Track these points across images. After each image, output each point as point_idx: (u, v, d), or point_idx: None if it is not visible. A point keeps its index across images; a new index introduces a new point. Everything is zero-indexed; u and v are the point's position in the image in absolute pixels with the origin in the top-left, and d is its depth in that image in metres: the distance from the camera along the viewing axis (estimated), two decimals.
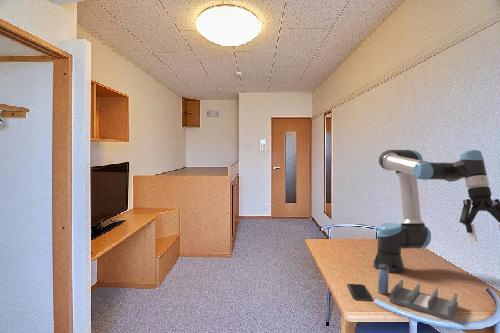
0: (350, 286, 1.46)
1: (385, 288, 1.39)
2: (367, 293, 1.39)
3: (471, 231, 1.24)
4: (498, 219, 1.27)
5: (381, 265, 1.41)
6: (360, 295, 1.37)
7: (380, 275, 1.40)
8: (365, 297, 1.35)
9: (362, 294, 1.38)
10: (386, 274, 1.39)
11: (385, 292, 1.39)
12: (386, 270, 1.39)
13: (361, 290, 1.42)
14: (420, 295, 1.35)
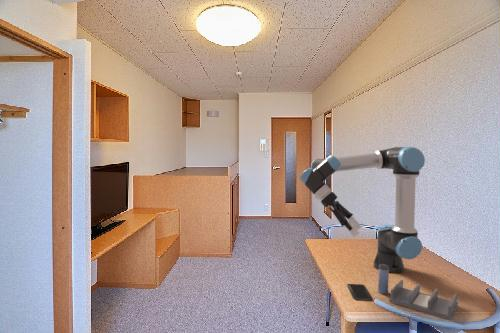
0: (350, 286, 1.46)
1: (385, 288, 1.39)
2: (367, 293, 1.39)
3: None
4: None
5: (381, 265, 1.41)
6: (360, 295, 1.37)
7: (380, 275, 1.40)
8: (365, 297, 1.35)
9: (362, 294, 1.38)
10: (386, 274, 1.39)
11: (385, 292, 1.39)
12: (386, 270, 1.39)
13: (361, 290, 1.42)
14: (420, 295, 1.35)
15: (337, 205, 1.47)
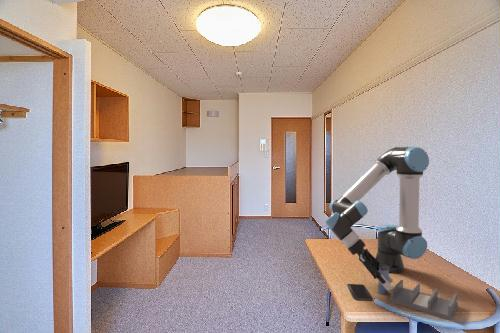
0: (350, 286, 1.46)
1: None
2: (367, 293, 1.39)
3: None
4: None
5: (381, 265, 1.41)
6: (360, 295, 1.37)
7: None
8: (365, 297, 1.35)
9: (362, 294, 1.38)
10: (386, 274, 1.39)
11: (385, 292, 1.39)
12: (386, 270, 1.39)
13: (361, 290, 1.42)
14: (420, 295, 1.35)
15: (366, 254, 1.41)
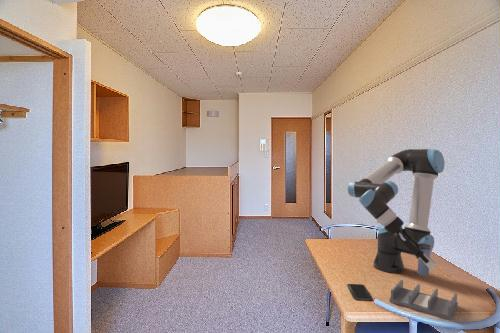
0: (350, 286, 1.46)
1: (426, 268, 1.28)
2: (367, 293, 1.39)
3: None
4: None
5: (421, 244, 1.30)
6: (360, 295, 1.37)
7: None
8: (365, 297, 1.35)
9: (362, 294, 1.38)
10: (427, 254, 1.28)
11: (426, 273, 1.29)
12: (428, 249, 1.28)
13: (361, 290, 1.42)
14: (420, 295, 1.35)
15: (405, 233, 1.31)
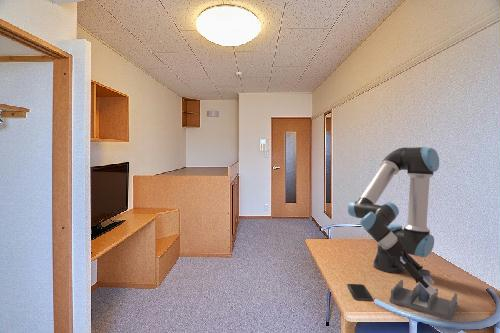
0: (350, 286, 1.46)
1: (426, 295, 1.29)
2: (367, 293, 1.39)
3: None
4: None
5: (421, 270, 1.31)
6: (360, 295, 1.37)
7: None
8: (365, 297, 1.35)
9: (362, 294, 1.38)
10: (427, 280, 1.29)
11: (427, 299, 1.29)
12: (427, 275, 1.29)
13: (361, 290, 1.42)
14: None
15: (406, 256, 1.31)
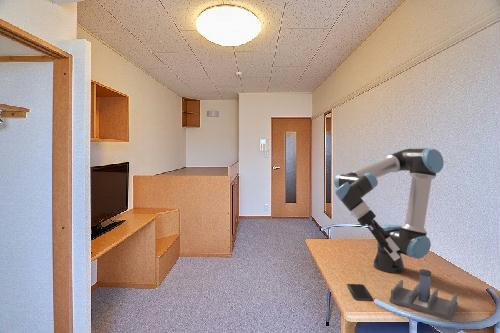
0: (350, 286, 1.46)
1: (426, 295, 1.29)
2: (367, 293, 1.39)
3: None
4: None
5: (422, 271, 1.31)
6: (361, 295, 1.37)
7: (421, 281, 1.30)
8: (365, 297, 1.35)
9: (362, 294, 1.38)
10: (428, 280, 1.29)
11: (427, 300, 1.29)
12: (428, 276, 1.29)
13: (361, 290, 1.42)
14: None
15: (376, 225, 1.37)
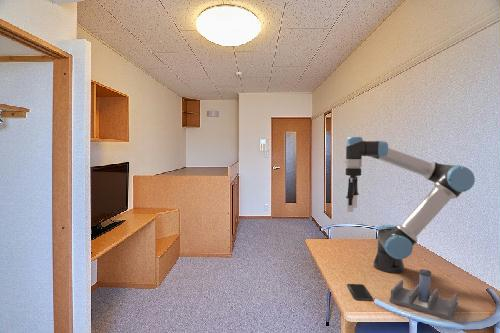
0: (350, 286, 1.46)
1: (426, 295, 1.29)
2: (367, 293, 1.39)
3: None
4: None
5: (422, 271, 1.31)
6: (361, 295, 1.37)
7: (421, 281, 1.30)
8: (365, 297, 1.35)
9: (362, 294, 1.38)
10: (428, 280, 1.29)
11: (427, 300, 1.29)
12: (428, 276, 1.29)
13: (361, 290, 1.42)
14: None
15: (355, 181, 1.59)
